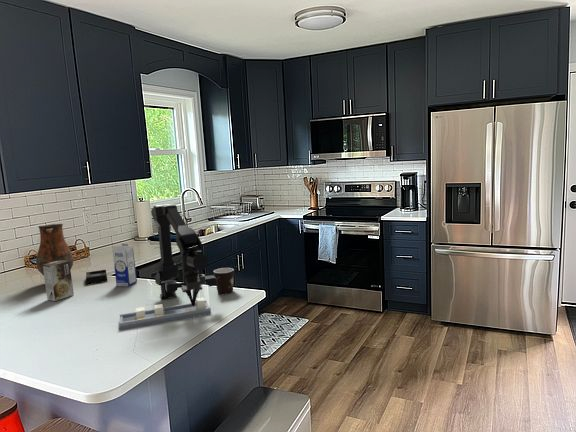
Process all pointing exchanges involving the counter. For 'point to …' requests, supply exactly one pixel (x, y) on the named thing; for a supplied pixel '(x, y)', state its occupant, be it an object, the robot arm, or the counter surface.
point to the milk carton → (124, 265)
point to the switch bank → (169, 315)
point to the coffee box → (58, 280)
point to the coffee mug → (224, 280)
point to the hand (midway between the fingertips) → (193, 305)
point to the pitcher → (52, 246)
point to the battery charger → (96, 277)
